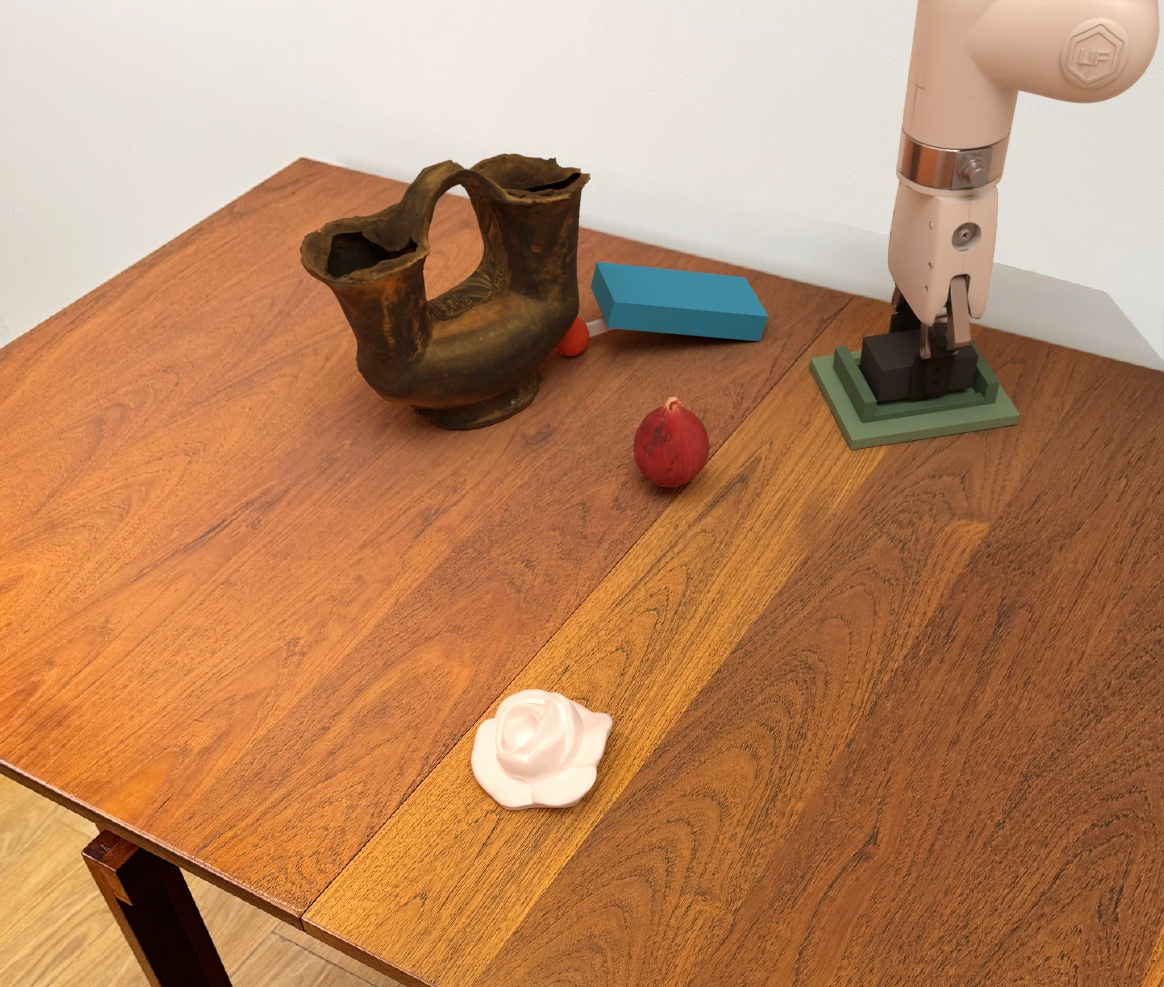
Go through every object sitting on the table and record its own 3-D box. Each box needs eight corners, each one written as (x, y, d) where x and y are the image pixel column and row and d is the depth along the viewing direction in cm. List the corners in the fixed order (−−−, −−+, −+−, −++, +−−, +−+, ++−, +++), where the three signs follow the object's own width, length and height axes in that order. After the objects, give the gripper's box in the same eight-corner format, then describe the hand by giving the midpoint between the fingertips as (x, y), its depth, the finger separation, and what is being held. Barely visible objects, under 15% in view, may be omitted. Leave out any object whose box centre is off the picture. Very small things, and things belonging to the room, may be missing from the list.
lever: (722, 347, 119) (540, 331, 114) (745, 277, 114) (555, 257, 109) (744, 387, 115) (556, 373, 109) (768, 316, 110) (572, 298, 104)
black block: (951, 354, 106) (957, 322, 103) (972, 388, 102) (978, 355, 100) (858, 368, 105) (862, 336, 103) (877, 402, 102) (881, 370, 100)
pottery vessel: (390, 488, 101) (339, 255, 86) (319, 430, 107) (260, 201, 91) (624, 365, 110) (616, 134, 95) (548, 317, 116) (528, 92, 101)
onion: (675, 519, 97) (675, 432, 91) (619, 490, 99) (616, 403, 93) (722, 482, 99) (725, 395, 93) (667, 454, 102) (666, 368, 96)
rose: (647, 735, 77) (508, 801, 75) (648, 780, 81) (515, 844, 78) (569, 638, 83) (437, 696, 80) (573, 684, 86) (447, 741, 84)
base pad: (965, 344, 109) (971, 313, 107) (1018, 424, 102) (1026, 393, 99) (809, 368, 108) (812, 336, 106) (850, 450, 101) (854, 419, 99)
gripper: (1050, 200, 84) (998, 428, 98) (960, 96, 95) (925, 315, 109) (942, 217, 84) (905, 443, 98) (864, 109, 95) (841, 327, 109)
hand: (916, 373), depth 103 cm, fingers closed on black block, 5 cm apart
